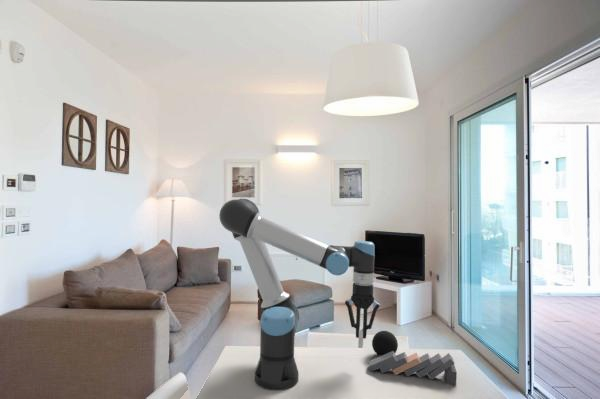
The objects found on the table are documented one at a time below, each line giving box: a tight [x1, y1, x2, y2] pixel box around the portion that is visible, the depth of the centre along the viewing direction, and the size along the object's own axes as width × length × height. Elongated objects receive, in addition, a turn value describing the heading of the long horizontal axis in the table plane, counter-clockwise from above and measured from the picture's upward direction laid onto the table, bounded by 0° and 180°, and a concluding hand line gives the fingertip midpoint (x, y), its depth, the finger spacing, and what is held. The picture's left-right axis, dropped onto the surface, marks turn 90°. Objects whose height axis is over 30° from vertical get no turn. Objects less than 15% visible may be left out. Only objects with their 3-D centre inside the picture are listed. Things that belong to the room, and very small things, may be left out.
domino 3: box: [391, 352, 421, 376], centre depth 142 cm, size 2×5×10 cm
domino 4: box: [403, 353, 432, 377], centre depth 142 cm, size 2×5×10 cm
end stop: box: [443, 364, 457, 386], centre depth 139 cm, size 3×8×4 cm, turn 166°
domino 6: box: [427, 353, 455, 380], centre depth 140 cm, size 2×5×10 cm
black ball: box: [371, 330, 399, 357], centre depth 157 cm, size 10×10×10 cm
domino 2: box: [379, 352, 408, 374], centre depth 144 cm, size 2×5×10 cm
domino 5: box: [415, 352, 444, 379], centre depth 141 cm, size 2×5×10 cm
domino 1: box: [367, 351, 396, 372], centre depth 145 cm, size 2×5×10 cm
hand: (360, 346), depth 147 cm, fingers closed
